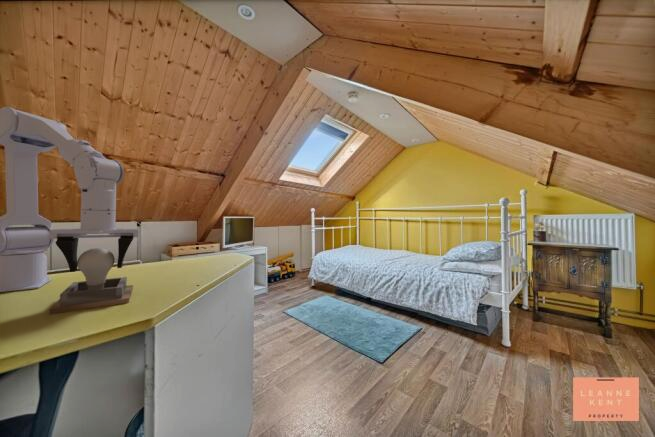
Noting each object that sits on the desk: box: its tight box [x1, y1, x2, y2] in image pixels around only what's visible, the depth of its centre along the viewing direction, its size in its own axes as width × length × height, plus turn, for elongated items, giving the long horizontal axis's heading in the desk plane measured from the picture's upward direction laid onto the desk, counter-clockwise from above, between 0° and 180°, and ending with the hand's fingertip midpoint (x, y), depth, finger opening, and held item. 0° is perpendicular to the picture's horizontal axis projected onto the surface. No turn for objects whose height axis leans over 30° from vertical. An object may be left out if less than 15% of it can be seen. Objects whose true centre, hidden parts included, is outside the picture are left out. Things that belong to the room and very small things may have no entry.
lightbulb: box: [77, 247, 116, 290], centre depth 54 cm, size 6×6×11 cm
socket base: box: [48, 276, 134, 315], centre depth 54 cm, size 11×12×4 cm
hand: (97, 268), depth 54 cm, fingers open, 7 cm apart
